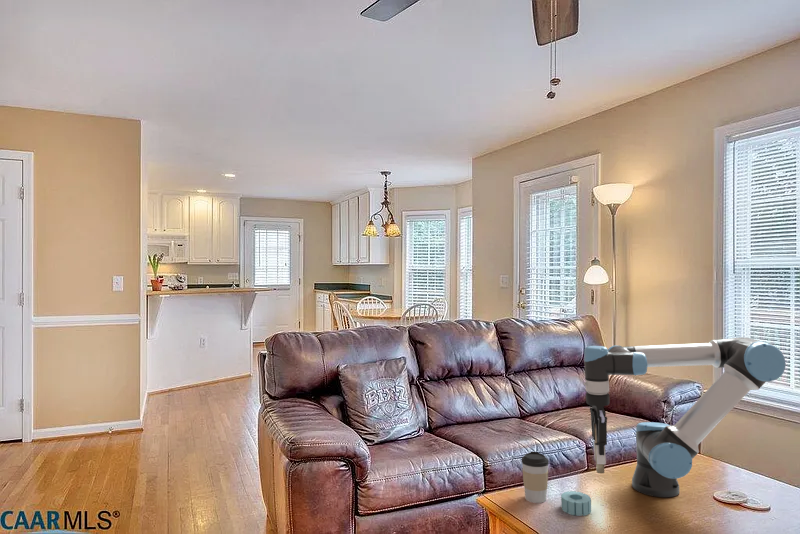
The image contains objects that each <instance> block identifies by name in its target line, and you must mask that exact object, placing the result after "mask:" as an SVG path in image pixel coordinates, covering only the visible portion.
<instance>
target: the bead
mask: <svg viewBox="0 0 800 534" xmlns="http://www.w3.org/2000/svg"><path fill="white" fill-rule="evenodd" d="M560 497H561V498H560V501H561V507H562V508H561V510H562V511H563V512H564V513H566V514H569V515H571V516H578V517H581V516H588V515H590V514H591V513H592V498H591V496H590V495H589V494H588V493H587V494H586V493H585V492H580V491H575V490H573V491H571V490H570V491H569V490H568V491H564V492H562V493H561V495H560Z"/></svg>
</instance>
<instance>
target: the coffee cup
mask: <svg viewBox="0 0 800 534" xmlns="http://www.w3.org/2000/svg"><path fill="white" fill-rule="evenodd" d="M521 464H522V465H521V466H522V469H521V470H522V480H523V489H524V495H525V498H524V499H525V500H526V501H528V502H529V503H534V504H542V502H543V503H545V502H546V501H547V493H548V490H547V489H548V481H549V464H550V463H549V459H548V458H547V457H546V456H545V455H544V454H541V453H540V452H538V451H530V452H528V453H525V454H524V455H523V456H522V457H521Z"/></svg>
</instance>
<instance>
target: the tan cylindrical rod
mask: <svg viewBox="0 0 800 534" xmlns="http://www.w3.org/2000/svg"><path fill="white" fill-rule="evenodd" d="M594 441H595V443H597V435H596V424H595V440H594ZM595 447H596V445H595ZM595 467H596V468H595V469H596V473H597V474H605V464H597V454H596V461H595Z"/></svg>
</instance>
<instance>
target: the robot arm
mask: <svg viewBox="0 0 800 534" xmlns="http://www.w3.org/2000/svg"><path fill="white" fill-rule="evenodd" d="M583 352H584V354H583V355H584V356H583V361H584V363H583V364H584V380H585V382H583V386H585V391H586V392H585V402H586V404H587V405H589V406H591V407H589V412H590V422H591V424H590V425H591V437H592V440H593V451H594V455H593V457H594V462H596V454H597V464H604V465H607V462H606V460H607V458H606V446H607V445H608V437H607V436H608V435H607V433H608V432H607V429H608V428H607V427H608V426H607V423H608V416H606V415H607V413H606V410H605V406H607V407H608V406H609V405H610V402H611V401H610V393H609V392H610V380H609V376H642V375H645V374H646V373H647V372H648V368H654V367H656V368H659V367H685V366H687V367H690V366H691V367H692V366H693V367H694V366H712V367H714V368H715V369H717V368H720V369H723V368H724V372H723V373H722V374H721V375H720V376H719V377H718V378H717V379H716V380H715V381H714V382H713V384H711V386H710V387H708V388H707V390H706V391H705V392H704V393H703V394H702V395H701V396H700V397H699V398H698V399H697V401H696V402H695V403H694V404H693V405H692V406H691V407H690V408H689V409H688V410H687V411H686V412H685V413H684V415H682V417H680V418H679V420H677V422H676V423H675V424H674V425H670V424H668V423H664V422H663V423H662V422H653V421H651V422H650V421H648V422H647V421H646V422H645V421H644V422H643V421H642V422H638V423H637V424H636V428H635V429H636V430H635V434H636V435H635V437H636V438H635V439H636V441H635V443H636V466H635V470H634V473H633V474H632V478H631V486H632V488H633V489H634V490H635V491H637V492H638V493H640V494H641V493H642V494H644V495H647V496H651V497H657V498H672V497H676V496H678V495H680V484H679V481H678V479H681V478H684V477H685V476H687V475H688V474H689V473H690V471H691V470H692V467H693V459H694V458H695V457H696V456H697V455H698V453H700V451H699V444H701V443H702V441H704V439H705V438H706V437H707V436H708V435H709V434H710V433H711V432H712V431H713V430H714V429H715V428H716V426H718V424H719V423H721V421H722V420H723V419H724V418H725V417H726V416H727V415H728V414H729V413H730V412H731V411H732V410H733V409H734V408H735V407H736V406H737V404H739V403H740V402H741V400H742V399H743V398H744V397H745V396H746V395H747V394H748V393H749V392H750V391H759V389H761V388H762V387H763V386H764V384H766V382H773V381H776V380H778V379H780V377H782V375H783V374H784V372H785V371H786V366H787V365H786V358H785V355H784V354H783V352H782V351H781V350H780V349H779V348H778V347H777V346H775V345H773V344H771V343H769V342H766V341H762V340H757V339H753V338H750V337H734V338H731V337H730V338H721V339H711V340H709V342H701V343H678V344H657V345H656V344H655V345H654V344H653V345H651V344H650V345H634V346H633V345H632V346H629V345H628V346H622V345H611V346H609V347H608V348H607V347H606V346H604V345H590V346H589V345H588V346H586V347H585V348H584V350H583ZM595 424H596V435H597V443H595ZM595 445H596V447H595Z"/></svg>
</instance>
